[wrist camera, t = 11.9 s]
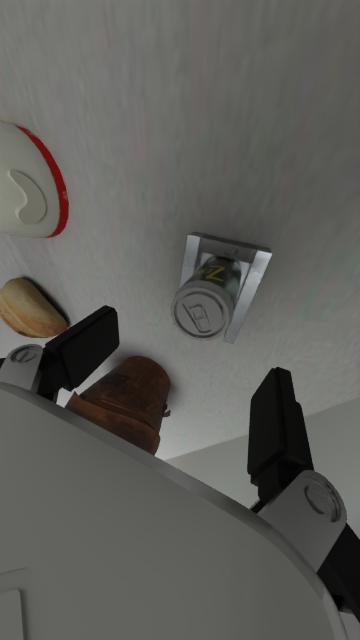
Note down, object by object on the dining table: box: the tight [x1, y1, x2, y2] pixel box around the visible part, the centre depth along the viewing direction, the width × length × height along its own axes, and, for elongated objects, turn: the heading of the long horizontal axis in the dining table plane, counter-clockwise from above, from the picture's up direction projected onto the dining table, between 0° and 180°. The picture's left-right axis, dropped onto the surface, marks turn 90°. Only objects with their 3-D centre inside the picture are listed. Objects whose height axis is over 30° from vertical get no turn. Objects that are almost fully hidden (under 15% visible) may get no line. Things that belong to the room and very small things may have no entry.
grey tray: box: [173, 232, 272, 344], centre depth 25 cm, size 13×10×3 cm
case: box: [65, 357, 171, 456], centre depth 36 cm, size 18×20×18 cm
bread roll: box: [0, 278, 67, 338], centre depth 39 cm, size 10×15×8 cm, turn 43°
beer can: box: [171, 256, 242, 341], centre depth 20 cm, size 5×5×12 cm
